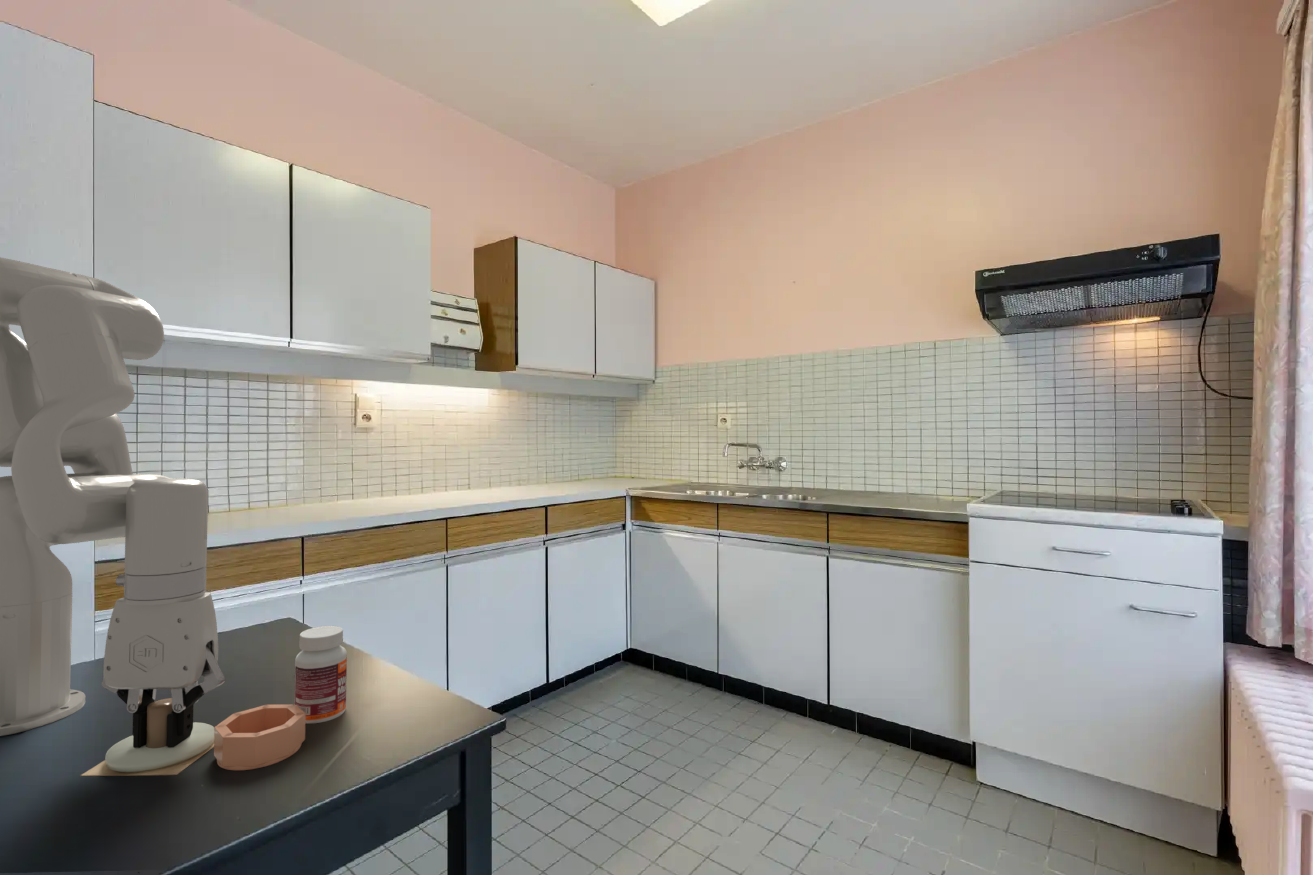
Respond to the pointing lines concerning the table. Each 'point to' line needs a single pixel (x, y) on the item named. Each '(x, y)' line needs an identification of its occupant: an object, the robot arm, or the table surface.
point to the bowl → (259, 736)
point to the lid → (158, 743)
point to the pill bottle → (321, 674)
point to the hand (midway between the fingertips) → (162, 740)
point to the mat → (167, 770)
